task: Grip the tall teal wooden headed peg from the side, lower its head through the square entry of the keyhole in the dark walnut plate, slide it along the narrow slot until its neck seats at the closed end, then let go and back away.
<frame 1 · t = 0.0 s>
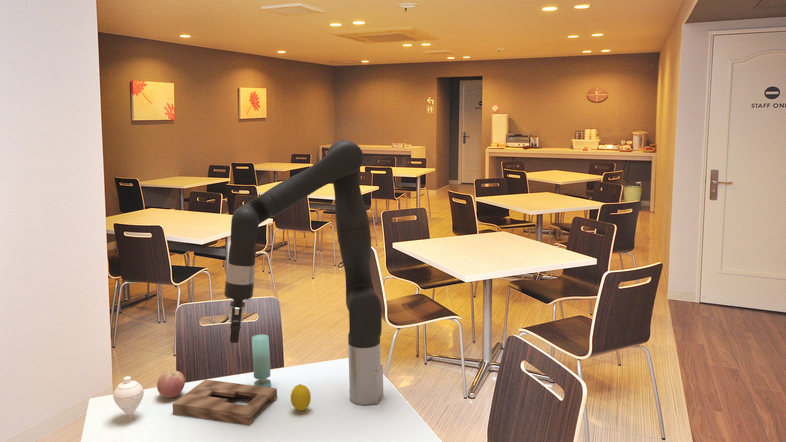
hand: (234, 336, 163), 22 cm above the table, tool pointing down, fingers open, 8 cm apart
spinning top: (130, 418, 165), on the table
keyhole plate: (226, 406, 171), on the table
apple: (172, 397, 177), on the table
lemon: (301, 411, 168), on the table
headed peg: (262, 386, 183), on the table
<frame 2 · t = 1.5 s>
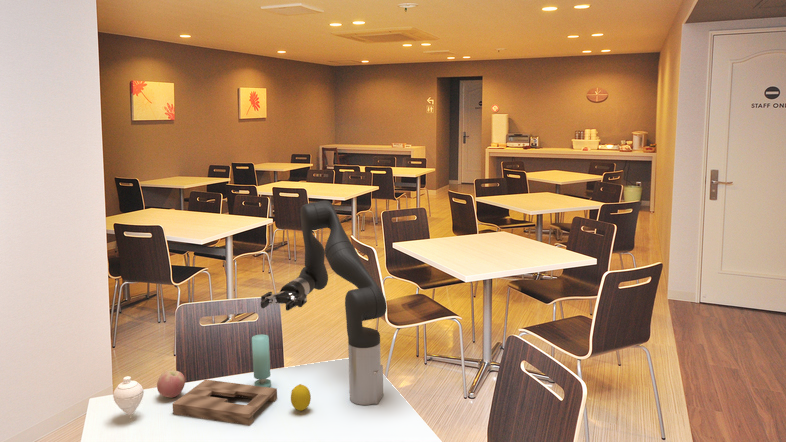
hand: (274, 306, 189), 22 cm above the table, tool horizontal, fingers open, 8 cm apart
nothing on the table moved.
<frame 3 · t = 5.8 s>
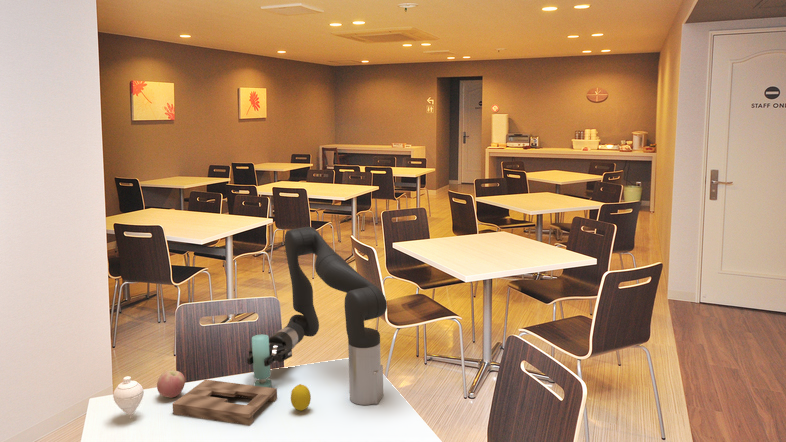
hand: (257, 362, 179), 9 cm above the table, tool horizontal, fingers closed on headed peg, 5 cm apart
headed peg: (262, 386, 183), on the table, touching gripper
everything else where it was.
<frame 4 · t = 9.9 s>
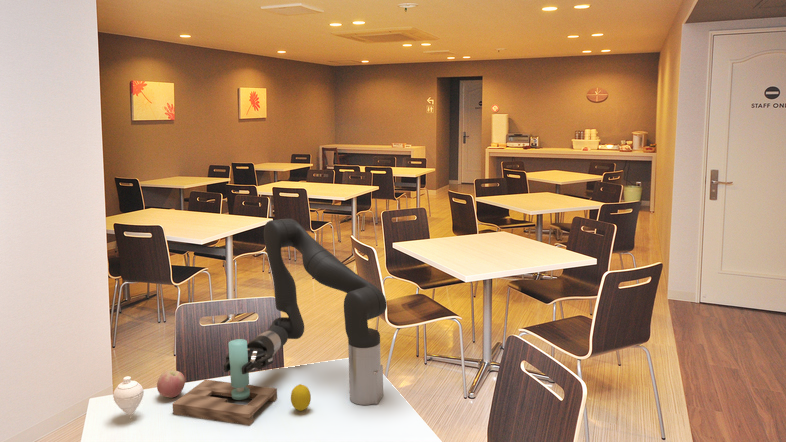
hand: (234, 369, 165), 13 cm above the table, tool horizontal, fingers closed on headed peg, 5 cm apart
headed peg: (240, 395, 169), point 4 cm above the table, touching gripper
everything else where it was.
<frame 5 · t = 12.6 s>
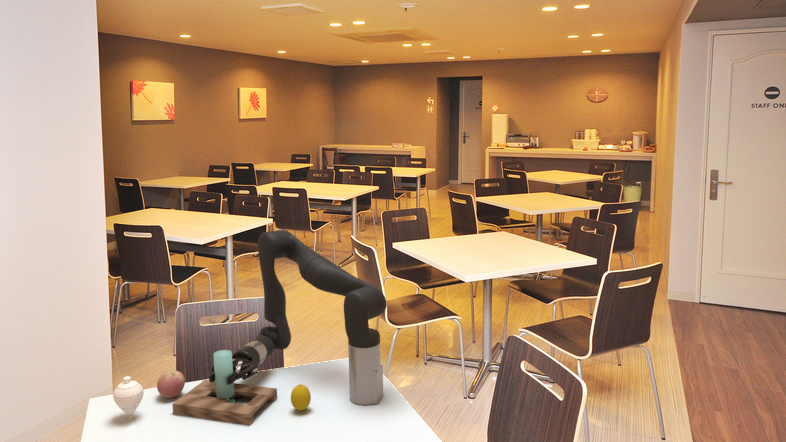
hand: (219, 380, 167), 9 cm above the table, tool horizontal, fingers closed on headed peg, 5 cm apart
headed peg: (226, 405, 171), resting in keyhole plate, touching gripper
everything else where it was.
when the fingers open (9 cm above the table, at t = 14.4 s): headed peg stays where it is, resting in keyhole plate.
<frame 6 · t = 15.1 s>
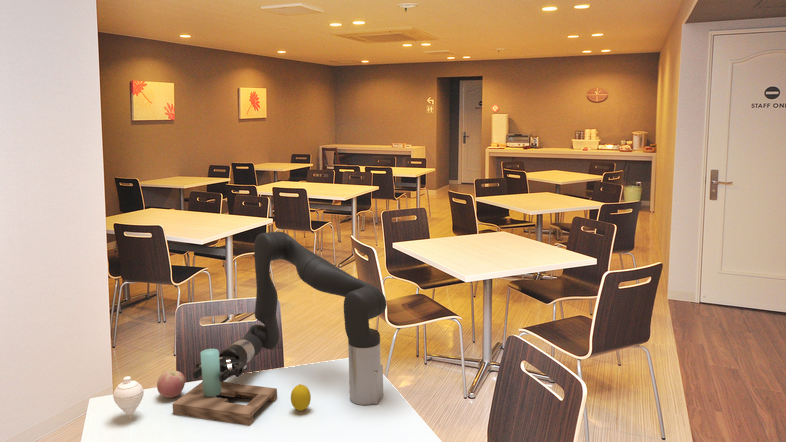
hand: (207, 377, 169), 9 cm above the table, tool horizontal, fingers open, 8 cm apart
headed peg: (213, 404, 172), resting in keyhole plate
everything else where it was.
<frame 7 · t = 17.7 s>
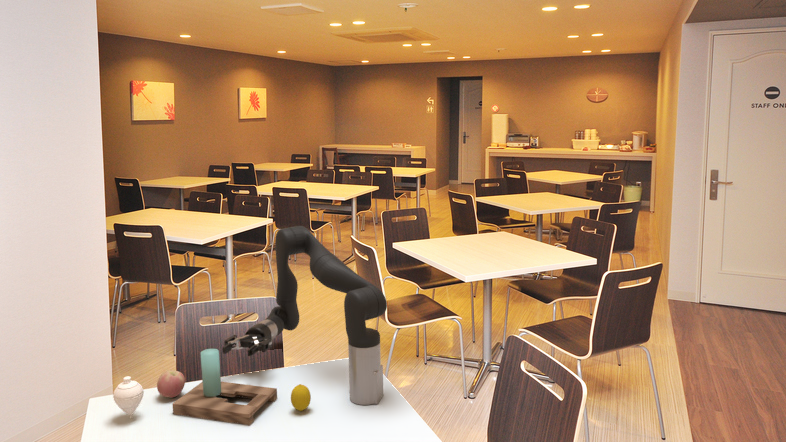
hand: (236, 352, 181), 11 cm above the table, tool horizontal, fingers open, 8 cm apart
nothing on the table moved.
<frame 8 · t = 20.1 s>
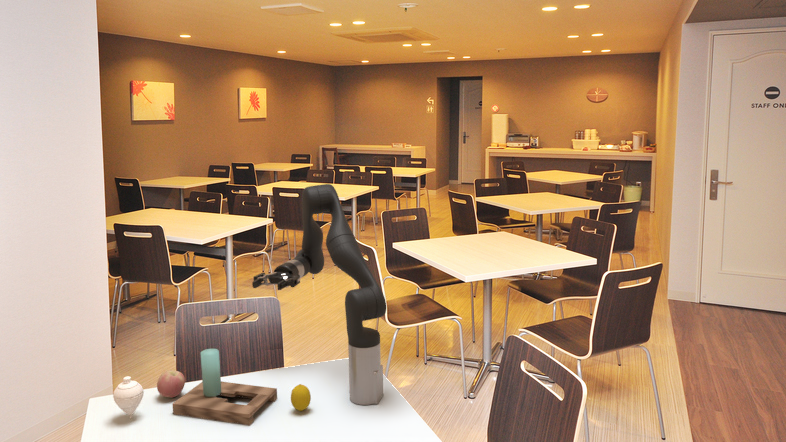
hand: (266, 286, 185), 30 cm above the table, tool horizontal, fingers open, 8 cm apart
nothing on the table moved.
at the end: headed peg 0.2 cm from the target spot on the keyhole plate, point 0.0 cm above the keyhole plate's base; the gripper is holding nothing; headed peg tilted 0° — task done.
